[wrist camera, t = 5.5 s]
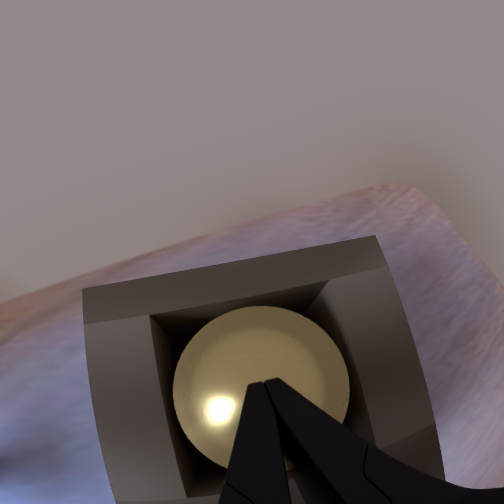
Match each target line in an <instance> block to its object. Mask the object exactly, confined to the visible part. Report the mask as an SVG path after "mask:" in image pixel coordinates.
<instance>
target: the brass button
mask: <svg viewBox="0 0 504 504" xmlns="http://www.w3.org/2000/svg"><path fill="white" fill-rule="evenodd" d="M276 377H278V378H280V379H282V380H283V381H284V382H286V383H287V384H288V385H290V386H291V387H292V388H293V389H295V390H296V391H297V392H299V393H300V394H301V395H303V396H304V397H305V398H307V399H308V400H310V401H311V402H312V403H314V404H315V405H316V406H318V407H319V408H320V409H322V410H323V411H325V412H326V413H327V414H329V415H330V416H332V417H333V418H334V419H336V420H337V421H339V422H340V423H343V421H344V418H345V415H346V412H347V408H348V403H349V391H350V388H349V377H348V372H347V368H346V365H345V362H344V359H343V357H342V355H341V353H340V351H339V349H338V348H337V346H336V345H335V343H334V342H333V340H332V339H331V338H330V337H329V336H328V334H327V333H326V332H325V331H324V330H323V329H321V328H320V327H319V326H318V325H317V324H315V323H314V322H312V321H311V320H309V319H308V318H306V317H304V316H302V315H300V314H298V313H295V312H293V311H290V310H287V309H282V308H278V307H270V306H253V307H246V308H241V309H237V310H233V311H231V312H228V313H226V314H223V315H221V316H219V317H218V318H216V319H214V320H212V321H211V322H209V323H208V324H207V325H205V326H204V327H203V328H202V329H201V330H200V331H199V332H198V333H196V334H195V336H194V337H193V338H192V339H191V341H190V342H189V343H188V345H187V346H186V348H185V349H184V351H183V353H182V355H181V357H180V359H179V362H178V364H177V368H176V371H175V376H174V383H173V399H174V406H175V410H176V414H177V417H178V420H179V422H180V424H181V427H182V429H183V430H184V432H185V434H186V435H187V437H188V439H189V440H190V441H191V442H192V443H193V445H194V446H195V447H196V448H197V449H198V450H199V451H200V452H201V453H203V454H204V455H205V456H206V457H208V458H209V459H211V460H212V461H213V462H215V463H217V464H219V465H221V466H223V467H225V468H228V464H229V460H230V456H231V452H232V447H233V443H234V439H235V435H236V431H237V427H238V423H239V419H240V414H241V410H242V406H243V402H244V397H245V393H246V389H247V385H248V384H249V383H254V382H258V381H262V382H263V383H264V381H265V380H267V379H271V378H276ZM284 461H285V460H284ZM285 467H286V471H288V470H289V469H288V467H287V465H286V463H285Z"/></svg>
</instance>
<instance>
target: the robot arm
mask: <svg viewBox="0 0 504 504" xmlns="http://www.w3.org/2000/svg"><path fill="white" fill-rule="evenodd" d="M284 460H285V461H284ZM285 463H286V465H287V467H288V469H289V471H290V473H291V475H292V477H293V479H294V481H295V483H296V485H297V487H298V489H299V491H300V493H301V495H302V498H303V499H304V501H305V503H306V504H504V487H502V488H491V489H471V488H465V487H461V486H457V485H454V484H452V483H449V482H447V481H444V480H442V479H439V478H437V477H434V476H432V475H429V474H427V473H425V472H422V471H420V470H418V469H415V468H413V467H411V466H409V465H407V464H405V463H403V462H401V461H399V460H397V459H395V458H393V457H392V456H390V455H388V454H387V453H385V452H383V451H382V450H380V449H379V448H377V447H376V446H374V445H373V444H371V443H368V441H366V440H365V439H363V438H362V437H360V436H359V435H357V434H356V433H355V432H353V431H352V430H350V429H349V428H347V427H346V426H344V425H343V424H342V423H340V422H339V421H337V420H336V419H334V418H333V417H332V416H330V415H329V414H327V413H326V412H325V411H323V410H322V409H320V408H319V407H318V406H316V405H315V404H314V403H312V402H311V401H310V400H308V399H307V398H305V397H304V396H303V395H301V394H300V393H299V392H297V391H296V390H295V389H293V388H292V387H291V386H290V385H288V384H287V383H286V382H284V381H283V380H282V379H280V378H278V377H276V378H271V379H267V380H265V381H264V383H263V382H262V381H258V382H254V383H249V384H248V385H247V389H246V393H245V397H244V402H243V406H242V410H241V414H240V419H239V423H238V427H237V431H236V435H235V439H234V443H233V447H232V452H231V456H230V460H229V464H228V468H227V472H226V476H225V480H224V484H223V487H222V491H221V494H220V498H219V501H218V504H292V501H291V496H290V490H289V484H288V479H287V473H286V467H285Z"/></svg>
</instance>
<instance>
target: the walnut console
mask: <svg viewBox="0 0 504 504" xmlns="http://www.w3.org/2000/svg"><path fill="white" fill-rule="evenodd" d="M82 296H83V319H84V335H85V347H86V357H87V367H88V375H89V383H90V390H91V397H92V403H93V409H94V415H95V420H96V426H97V431H98V436H99V440H100V445H101V449H102V454H103V458H104V462H105V466H106V470H107V474H108V478H109V481H110V485H111V488H112V492H113V495H114V498H115V502H116V504H218V501H219V498H220V494H221V491H222V487H223V484H224V480H225V476H226V472H227V468H225V467H223V466H221V465H219V464H217V463H215V462H213V461H212V460H211V459H209V458H208V457H206V456H205V455H204V454H203V453H201V452H200V451H199V450H198V449H197V448H196V447H195V446H194V445H193V443H192V442H191V441H190V440H189V439H188V437H187V435H186V434H185V432H184V430H183V429H182V427H181V424H180V422H179V420H178V417H177V414H176V410H175V406H174V399H173V383H174V376H175V371H176V368H177V364H178V362H179V359H180V357H181V355H182V353H183V351H184V349H185V348H186V346H187V345H188V343H189V342H190V341H191V339H192V338H193V337H194V336H195V334H196V333H198V332H199V331H200V330H201V329H202V328H203V327H204V326H205V325H207V324H208V323H209V322H211V321H212V320H214V319H216V318H218V317H219V316H221V315H223V314H226V313H228V312H231V311H233V310H237V309H241V308H246V307H253V306H270V307H278V308H282V309H287V310H290V311H293V312H295V313H298V314H300V315H302V316H304V317H306V318H308V319H309V320H311V321H312V322H314V323H315V324H317V325H318V326H319V327H320V328H321V329H323V330H324V331H325V332H326V333H327V334H328V336H329V337H330V338H331V339H332V340H333V342H334V343H335V345H336V346H337V348H338V349H339V351H340V353H341V355H342V357H343V359H344V362H345V365H346V368H347V372H348V377H349V388H350V391H349V403H348V408H347V412H346V415H345V418H344V421H343V423H342V424H343V425H344V426H346V427H347V428H349V429H350V430H352V431H353V432H355V433H356V434H357V435H359V436H360V437H362V438H363V439H365V440H366V441H368V443H371V444H373V445H374V446H376V447H377V448H379V449H380V450H382V451H383V452H385V453H387V454H388V455H390V456H392V457H393V458H395V459H397V460H399V461H401V462H403V463H405V464H407V465H409V466H411V467H413V468H415V469H418V470H420V471H422V472H425V473H427V474H429V475H432V476H434V477H437V478H439V479H442V480H444V481H446V480H445V474H444V467H443V461H442V455H441V450H440V444H439V439H438V434H437V429H436V424H435V420H434V415H433V411H432V406H431V402H430V398H429V394H428V390H427V386H426V382H425V378H424V375H423V371H422V367H421V364H420V360H419V357H418V353H417V350H416V347H415V343H414V340H413V337H412V334H411V330H410V327H409V324H408V321H407V318H406V315H405V312H404V309H403V306H402V303H401V301H400V298H399V295H398V292H397V289H396V287H395V284H394V281H393V279H392V276H391V273H390V271H389V268H388V265H387V263H386V260H385V258H384V255H383V253H382V250H381V248H380V245H379V243H378V240H377V238H376V236H375V235H373V236H368V237H363V238H357V239H352V240H347V241H342V242H336V243H331V244H326V245H320V246H315V247H310V248H304V249H299V250H294V251H288V252H283V253H277V254H272V255H267V256H261V257H256V258H250V259H245V260H240V261H234V262H229V263H223V264H218V265H212V266H207V267H201V268H196V269H190V270H185V271H179V272H174V273H168V274H163V275H157V276H152V277H146V278H140V279H135V280H129V281H124V282H118V283H112V284H107V285H101V286H95V287H90V288H84V289H82ZM286 473H287V479H288V484H289V490H290V496H291V501H292V504H306V503H305V501H304V499H303V498H302V495H301V493H300V491H299V489H298V487H297V485H296V483H295V481H294V479H293V477H292V475H291V473H290V471H289V470H288V471H286Z"/></svg>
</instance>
